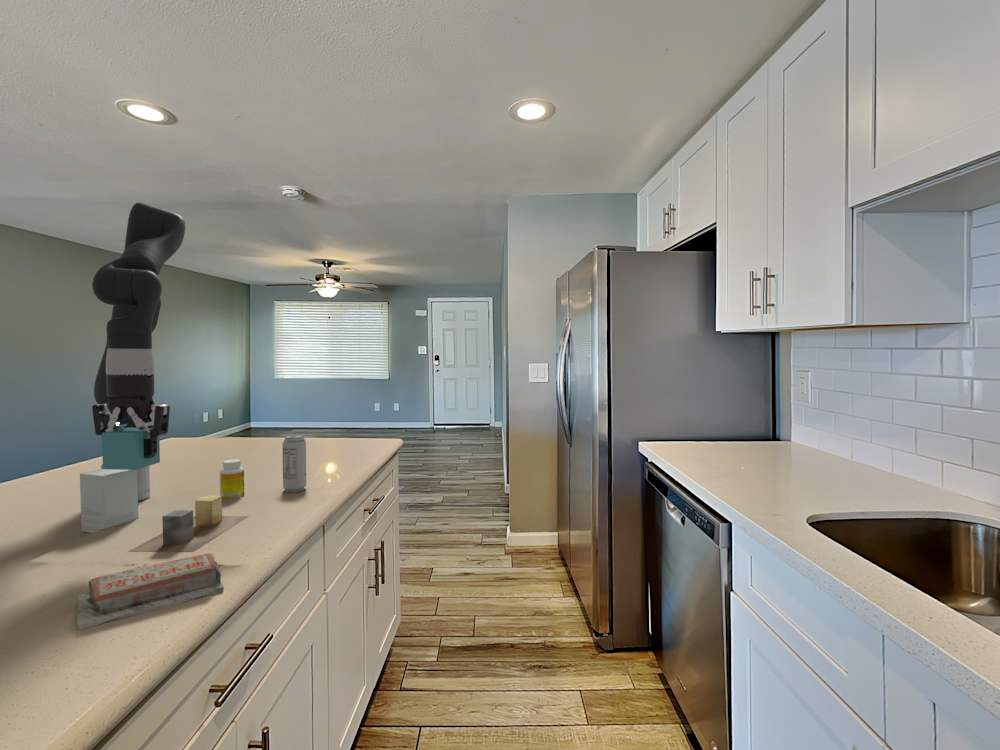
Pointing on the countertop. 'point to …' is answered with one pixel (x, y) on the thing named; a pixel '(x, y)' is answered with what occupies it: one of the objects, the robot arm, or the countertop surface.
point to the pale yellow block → (208, 511)
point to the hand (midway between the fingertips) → (132, 456)
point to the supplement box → (108, 498)
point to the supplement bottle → (232, 479)
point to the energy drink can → (294, 463)
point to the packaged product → (147, 589)
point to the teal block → (126, 450)
